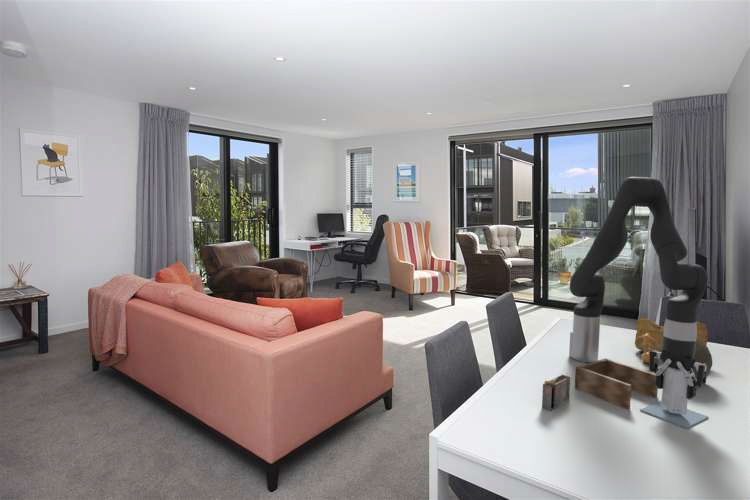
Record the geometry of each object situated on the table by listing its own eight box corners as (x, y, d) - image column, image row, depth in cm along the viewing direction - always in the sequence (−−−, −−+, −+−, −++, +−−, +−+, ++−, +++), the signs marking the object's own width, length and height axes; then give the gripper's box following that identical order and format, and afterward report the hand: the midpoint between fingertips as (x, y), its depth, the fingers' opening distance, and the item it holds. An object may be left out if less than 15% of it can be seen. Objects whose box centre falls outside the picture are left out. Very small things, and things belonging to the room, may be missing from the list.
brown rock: (689, 372, 158) (692, 330, 156) (721, 388, 144) (725, 343, 142) (650, 372, 157) (653, 330, 156) (678, 388, 143) (682, 343, 142)
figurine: (661, 364, 165) (663, 332, 163) (656, 368, 161) (658, 336, 159) (636, 358, 171) (638, 328, 169) (631, 362, 167) (633, 331, 165)
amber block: (708, 357, 175) (710, 319, 175) (706, 365, 162) (707, 324, 162) (640, 347, 190) (641, 312, 189) (633, 354, 177) (634, 316, 177)
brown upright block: (551, 413, 127) (553, 380, 126) (541, 409, 129) (543, 377, 128) (570, 401, 134) (572, 370, 133) (560, 398, 137) (562, 367, 136)
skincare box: (687, 414, 122) (690, 372, 121) (670, 413, 123) (673, 371, 122) (677, 404, 128) (680, 364, 127) (660, 403, 129) (663, 363, 128)
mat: (640, 410, 128) (640, 409, 128) (662, 401, 134) (662, 400, 134) (686, 428, 117) (686, 427, 117) (708, 417, 124) (708, 416, 123)
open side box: (574, 388, 143) (575, 367, 143) (604, 378, 151) (605, 358, 151) (627, 409, 129) (629, 385, 128) (657, 396, 137) (658, 374, 136)
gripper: (645, 331, 128) (641, 386, 129) (702, 345, 115) (697, 406, 117) (659, 327, 131) (655, 381, 133) (716, 340, 119) (710, 400, 121)
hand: (675, 393), depth 125 cm, fingers closed on skincare box, 7 cm apart
